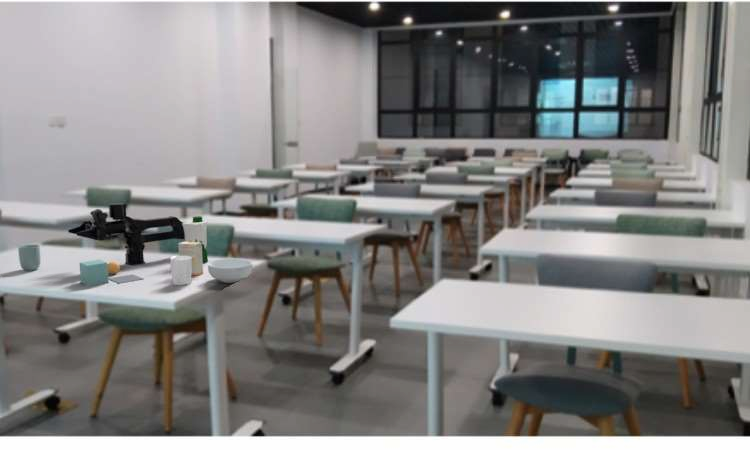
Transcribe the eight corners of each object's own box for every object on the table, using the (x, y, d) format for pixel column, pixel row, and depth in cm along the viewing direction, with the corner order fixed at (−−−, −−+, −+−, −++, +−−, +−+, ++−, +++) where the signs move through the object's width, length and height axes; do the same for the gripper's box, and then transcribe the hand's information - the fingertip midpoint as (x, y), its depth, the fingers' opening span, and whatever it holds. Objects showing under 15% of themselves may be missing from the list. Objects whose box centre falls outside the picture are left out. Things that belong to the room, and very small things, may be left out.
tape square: (132, 274, 265) (132, 274, 265) (143, 279, 258) (143, 278, 258) (108, 278, 258) (108, 278, 258) (118, 283, 251) (118, 283, 251)
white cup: (173, 280, 256) (172, 255, 254) (194, 280, 256) (193, 255, 255) (169, 285, 248) (168, 260, 246) (190, 285, 249) (189, 259, 247)
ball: (117, 271, 270) (116, 260, 270) (122, 273, 267) (121, 261, 266) (104, 273, 267) (104, 261, 266) (109, 275, 263) (109, 263, 263)
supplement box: (203, 273, 268) (202, 242, 266) (196, 276, 263) (195, 244, 261) (186, 271, 271) (185, 240, 268) (179, 274, 266) (178, 242, 264)
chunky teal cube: (100, 279, 258) (99, 259, 257) (108, 282, 253) (107, 262, 252) (80, 282, 253) (79, 262, 252) (88, 285, 248) (87, 265, 246)
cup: (45, 267, 277) (43, 244, 276) (34, 272, 270) (32, 248, 268) (27, 267, 278) (25, 244, 276) (16, 271, 270) (14, 247, 269)
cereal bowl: (209, 287, 247) (208, 268, 246) (207, 276, 262) (207, 259, 261) (254, 284, 251) (254, 266, 250) (250, 274, 267) (250, 257, 266)
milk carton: (210, 261, 290) (209, 216, 287) (198, 265, 282) (196, 219, 279) (194, 259, 294) (192, 215, 290) (181, 263, 285) (179, 218, 282)
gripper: (100, 207, 282) (62, 210, 272) (118, 211, 269) (79, 215, 258) (102, 232, 284) (64, 237, 273) (120, 238, 271) (81, 243, 260)
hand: (72, 232), depth 266 cm, fingers open, 9 cm apart
